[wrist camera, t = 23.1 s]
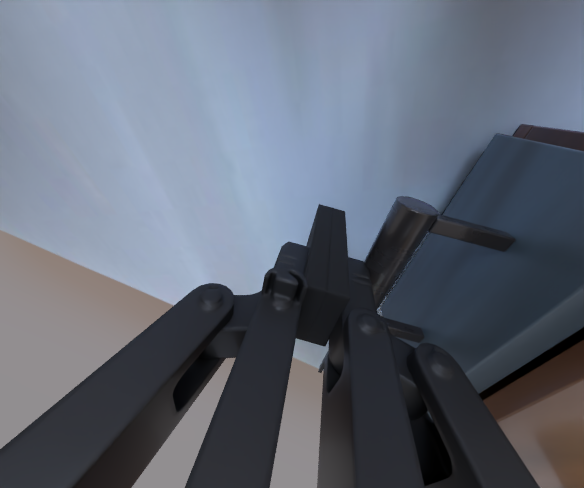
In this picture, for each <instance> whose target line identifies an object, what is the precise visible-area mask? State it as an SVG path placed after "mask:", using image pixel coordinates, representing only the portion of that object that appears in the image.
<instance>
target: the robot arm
mask: <svg viewBox="0 0 584 488" xmlns="http://www.w3.org/2000/svg"><path fill="white" fill-rule="evenodd" d="M370 279H371V278H370V272H369V269H368V268H367V266H366V265H365V263H364V262H363V261H360V260H356V259H353V258H349V257H348V251H347V235H346V220H345V211H342V210H338V209H334V208H331V207H327V206H323V205H320V204H319V206H318V209H317V213H316V216H315V219H314V222H313V226H312V229H311V232H310V236H309V239H308V242H307V246H303V245H299V244H296V243H292V242H287V243H286V244H285V245H283V246H282V247H281V250H280V253H279V255H278V258H277V261H276V263H275V266H274V268H272V269H270V270H268V272H267V273H266V274H265V277H264V282H263V288H262V291H260V292H258V293H256V294H252V295H233V293H232V291H231V290H230V289H229V288H227V287H226V286H224V285H221V284H214V283H209V284H205V285H201V286H199V287H197V288H196V289H194V290H193V291H191V292H190V293H189V294H188V295H187V296H185V297H184V298H183V299H182V300H180V301H179V302H178V303H177V304H176V305H174V306H173V307H172V308H171V309H170V310H168V311H167V312H166V313H165V314H164V315H162V316H161V317H160V318H159V319H157V320H156V321H155V322H154V323H153V324H151V325H150V326H149V327H148V328H147V329H145V330H144V331H143V332H142V333H141V334H139V335H138V336H137V337H136V338H134V339H133V340H132V341H131V342H130V343H129V344H128V345H126V346H125V347H124V348H122V349H121V350H120V351H119V352H118V353H116V354H115V355H114V356H113V357H111V358H110V359H109V360H108V361H107V362H105V363H104V364H103V365H102V366H101V367H99V368H98V369H97V370H96V371H95V372H93V373H92V374H91V375H90V376H88V377H87V378H86V379H85V380H84V381H82V382H81V383H80V384H79V385H78V386H76V387H75V388H74V389H73V390H72V391H70V392H69V393H68V394H67V395H65V397H63V398H62V399H61V400H59V401H58V402H57V403H56V404H55V405H53V406H52V407H51V408H50V409H49V410H47V411H46V412H45V413H44V414H42V415H41V416H40V417H39V418H38V419H36V420H35V421H34V422H33V423H32V424H31V425H29V426H28V427H27V428H26V429H25V430H23V431H22V432H21V433H20V434H18V435H17V436H16V437H15V438H14V439H12V440H11V441H10V442H9V443H7V444H6V445H5V446H4V447H3V448H2V449H0V488H131V487H132V486H133V485H134V483H135V482H136V480H137V479H138V478H139V476H140V475H141V474H142V472H143V471H144V469H145V468H146V467H147V465H148V464H149V463H150V461H151V460H152V459H153V457H154V456H155V455H156V453H157V452H158V450H159V449H160V448H161V446H162V445H163V443H164V442H165V441H166V439H167V438H168V437H169V435H170V434H171V432H172V431H173V430H174V429H175V427H176V426H177V424H178V423H179V422H180V420H181V419H182V418H183V416H184V415H185V413H186V412H187V411H188V409H189V408H190V407H191V405H192V404H193V402H194V401H195V400H196V398H197V397H198V396H199V394H200V393H201V392H202V390H203V389H204V387H205V386H206V385H207V383H208V382H209V381H210V379H211V378H212V376H213V375H214V374H215V372H216V371H217V370H218V368H219V367H220V366H221V364H222V363H223V361H224V360H225V359H226V358H235V357H236V359H235V362H234V365H233V367H232V369H231V372H230V375H229V377H228V380H227V382H226V385H225V387H224V390H223V392H222V395H221V397H220V400H219V402H218V405H217V408H216V410H215V412H214V415H213V418H212V420H211V423H210V425H209V428H208V430H207V433H206V435H205V438H204V440H203V443H202V445H201V448H200V450H199V453H198V456H197V458H196V461H195V463H194V466H193V468H192V471H191V473H190V476H189V478H188V481H187V483H186V486H185V488H269V487H270V481H271V476H272V470H273V464H274V458H275V453H276V447H277V442H278V436H279V430H280V424H281V419H282V413H283V407H284V402H285V396H286V390H287V385H288V379H289V373H290V368H291V362H292V356H293V351H294V345H295V339H296V338H297V339H301V340H304V341H308V342H311V343H315V344H318V345H321V346H326V344H327V342H328V340H329V351H328V352H327V354H326V356H325V358H324V360H323V361H322V363H321V365H320V368H319V371H318V372H320V373H321V372H322V371H323V369H324V374H323V392H322V411H321V428H320V447H319V465H318V483H317V488H540V487H539V485H538V484H537V482H536V481H535V479H534V478H533V476H532V475H531V473H530V472H529V470H528V469H527V467H526V466H525V464H524V462H523V461H522V459H521V458H520V456H519V455H518V453H517V452H516V450H515V449H514V447H513V446H512V444H511V443H510V441H509V440H508V438H507V437H506V435H505V434H504V432H503V431H502V429H501V428H500V426H499V424H498V423H497V421H496V420H495V418H494V417H493V415H492V414H491V412H490V411H489V409H488V408H487V406H486V405H485V403H484V402H483V400H482V399H481V397H480V396H479V394H478V393H477V391H476V390H475V388H474V387H473V385H472V383H471V382H470V380H469V379H468V377H467V376H466V374H465V373H464V371H463V370H462V368H461V367H460V365H459V364H458V363H457V362H456V360H455V359H454V358H453V357H452V356H451V355H450V354H449V353H448V352H446V351H445V350H444V349H442V348H440V347H439V346H437V345H435V344H431V343H421V344H420V345H419V346H418V347H417V348H414V347H413V346H411V345H409V344H407V343H406V342H404V341H402V340H400V339H399V338H397V337H395V336H394V335H392V334H391V333H390V330H389V328H388V326H387V323H386V322H385V321H384V320H383V318H382V317H381V316H380V315H378V314H377V310H376V304H375V299H374V294H373V288H372V283H371V280H370ZM428 412H429V413H430V415H431V417H432V419H433V420H432V419H431V418H430V416H429V414H428Z"/></svg>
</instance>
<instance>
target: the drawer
mask: <svg viewBox="0 0 584 488" xmlns="http://www.w3.org/2000/svg"><path fill="white" fill-rule="evenodd" d="M428 231H429V232H430V234H429V236H428V237H427V239H426V240H425V242H424V243H423V245H422V246H421V248H420V249H419V251H418V252H417V254H416V255H415V257H414V258H413V260H412V261H411V263H410V264H409V266H408V267H407V269H406V270H405V272H404V273H403V275H402V276H401V278H400V279H399V281H398V283H397V284H396V286H395V287H394V289H393V290H392V292H391V293H390V295H389V296H388V298H387V299H386V301H385V302H384V304H383V305H382V307H381V310H382V315H383V317H382V318H383V320H384V321H385V322H386V323H387V326H388V328H389V330H390V333H391V334H392V335H394V336H395V337H397V338H399V339H400V340H402V341H404V342H406V343H407V344H409V345H411V346H413V347H414V348H417V347H418V346H419V345H420V344H421V343H431V344H435V345H437V346H439V347H440V348H442V349H444V350H445V351H446V352H448V353H449V354H450V355H451V356H452V357H453V358H454V359H455V360H456V362H457V363H458V364H459V365H460V367H461V368H462V370H463V371H464V373H465V374H466V376H467V377H468V379H469V380H470V382H471V383H472V385H473V387H474V388H475V390H476V391H477V393H478V394H479V396H480V397H481V399H482V400H484V399H485V398H487V397H489V396H490V395H492V394H494V393H495V392H497V391H499V390H500V389H502V388H504V387H505V386H507V385H509V384H510V383H512V382H514V381H515V380H517V379H519V378H520V377H522V376H524V375H525V374H527V373H529V372H530V371H532V370H534V369H535V368H537V367H539V366H540V365H542V364H544V363H545V362H547V361H549V360H550V359H552V358H553V357H555V356H557V355H558V354H560V353H562V352H563V351H565V350H567V349H568V348H570V347H572V346H573V345H575V344H577V343H578V342H580V341H582V340H583V339H584V151H579V150H575V149H570V148H565V147H560V146H555V145H551V144H546V143H541V142H536V141H531V140H527V139H522V138H517V137H512V136H507V135H503V134H496V135H495V136H494V137H493V139H492V140H491V142H490V143H489V145H488V146H487V148H486V149H485V151H484V152H483V154H482V155H481V157H480V158H479V160H478V161H477V163H476V165H475V166H474V168H473V169H472V171H471V172H470V174H469V175H468V177H467V178H466V180H465V181H464V183H463V184H462V186H461V187H460V189H459V190H458V192H457V193H456V195H455V196H454V198H453V199H452V201H451V202H450V204H449V205H448V207H447V208H446V210H445V211H444V213H443V214H442V215H440V214H439V213H438V211H437V210H436V209H435V208H434V207H432V206H431V205H429V204H427V203H425V202H423V201H420V200H417V199H414V198H410V197H404V196H400V197H397V198H396V200H395V202H394V204H393V206H392V208H391V210H390V212H389V214H388V216H387V218H386V220H385V221H384V223H383V225H382V227H381V229H380V231H379V233H378V235H377V237H376V239H375V241H374V243H373V245H372V247H371V249H370V251H369V253H368V255H367V257H366V259H365V261H364V263H365V265H366V266H367V268H368V269H369V272H370V278H371V279H370V280H371V283H372V288H373V294H374V299H375V304H376V310H377V309H378V307H379V306H380V304H381V302H382V301H383V299H384V298H385V296H386V295H387V293H388V292H389V290H390V289H391V287H392V286H393V284H394V282H395V281H396V279H397V278H398V276H399V275H400V273H401V272H402V270H403V269H404V267H405V266H406V264H407V262H408V261H409V259H410V258H411V256H412V255H413V253H414V252H415V250H416V249H417V247H418V246H419V244H420V242H421V241H422V239H423V238H424V236H425V235H426V233H427V232H428ZM428 414H429V416H430V418H431V419H432V417H431V415H430V413H429V412H428ZM432 420H433V419H432Z"/></svg>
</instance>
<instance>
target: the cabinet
mask: <svg viewBox="0 0 584 488" xmlns="http://www.w3.org/2000/svg"><path fill="white" fill-rule="evenodd" d="M513 137H517V138H522V139H527V140H531V141H536V142H541V143H546V144H551V145H555V146H560V147H565V148H570V149H575V150H579V151H584V132H578V131H571V130H563V129H555V128H548V127H540V126H533V125H525V124H521V125H520V127H519V128H518V130H517V131H516V132H515V134H514V135H513ZM483 402H484V403H485V405H486V406H487V408H488V409H489V411H490V412H491V414H492V415H493V417H494V418H495V420H496V421H497V423H498V424H499V426H500V428H501V429H502V431H503V432H504V434H505V435H506V437H507V438H508V440H509V441H510V443H511V444H512V446H513V447H514V449H515V450H516V452H517V453H518V455H519V456H520V458H521V459H522V461H523V462H524V464H525V466H526V467H527V469H528V470H529V472H530V473H531V475H532V476H533V478H534V479H535V481H536V482H537V484H538V485H539V487H542V488H584V339H583V340H582V341H580V342H578V343H577V344H575V345H573V346H572V347H570V348H568V349H567V350H565V351H563V352H562V353H560V354H558V355H557V356H555V357H553V358H552V359H550V360H549V361H547V362H545V363H544V364H542V365H540V366H539V367H537V368H535V369H534V370H532V371H530V372H529V373H527V374H525V375H524V376H522V377H520V378H519V379H517V380H515V381H514V382H512V383H510V384H509V385H507V386H505V387H504V388H502V389H500V390H499V391H497V392H495V393H494V394H492V395H490V396H489V397H487V398H485V399H484V400H483Z"/></svg>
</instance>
